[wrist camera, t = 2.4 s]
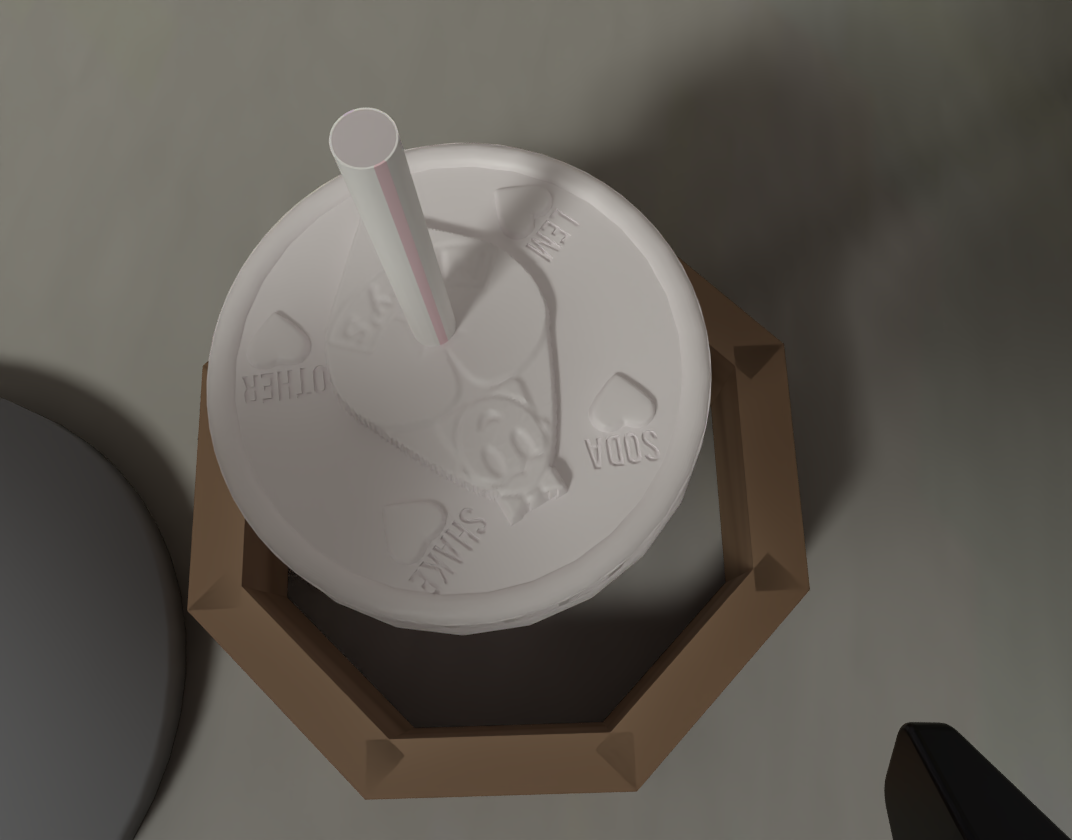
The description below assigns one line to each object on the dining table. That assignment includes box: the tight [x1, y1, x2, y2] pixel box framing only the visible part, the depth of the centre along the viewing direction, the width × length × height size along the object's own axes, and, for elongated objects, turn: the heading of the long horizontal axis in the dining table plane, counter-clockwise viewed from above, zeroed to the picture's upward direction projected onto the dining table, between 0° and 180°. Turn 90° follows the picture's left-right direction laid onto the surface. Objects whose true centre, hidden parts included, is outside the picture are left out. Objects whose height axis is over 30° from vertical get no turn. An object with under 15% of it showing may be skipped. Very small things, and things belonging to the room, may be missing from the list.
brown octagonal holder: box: [187, 257, 810, 800], centre depth 19 cm, size 12×12×3 cm
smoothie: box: [207, 108, 711, 635], centre depth 14 cm, size 6×6×14 cm
